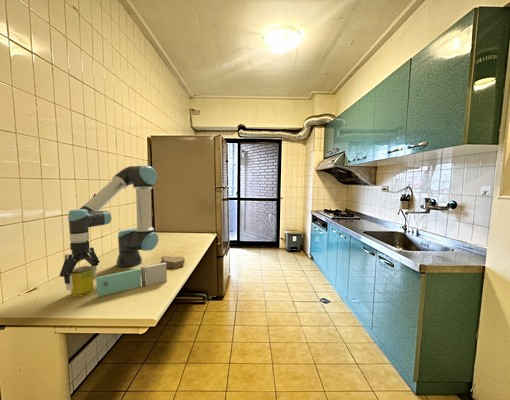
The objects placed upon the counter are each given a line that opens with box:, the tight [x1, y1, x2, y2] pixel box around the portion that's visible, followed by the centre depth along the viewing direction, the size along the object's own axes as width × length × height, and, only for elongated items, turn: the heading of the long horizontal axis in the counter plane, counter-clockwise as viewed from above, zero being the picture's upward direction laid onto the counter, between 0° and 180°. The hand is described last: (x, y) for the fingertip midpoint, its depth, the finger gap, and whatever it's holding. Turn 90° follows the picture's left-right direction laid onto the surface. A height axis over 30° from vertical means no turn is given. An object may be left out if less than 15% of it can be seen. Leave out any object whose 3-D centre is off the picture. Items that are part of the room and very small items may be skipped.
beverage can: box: [70, 265, 95, 298], centre depth 119 cm, size 9×9×12 cm
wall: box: [140, 263, 168, 288], centre depth 128 cm, size 3×20×10 cm, turn 126°
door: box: [95, 268, 142, 298], centre depth 119 cm, size 3×19×9 cm, turn 126°
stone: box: [160, 255, 185, 269], centre depth 160 cm, size 17×15×4 cm
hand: (81, 283), depth 119 cm, fingers open, 13 cm apart
